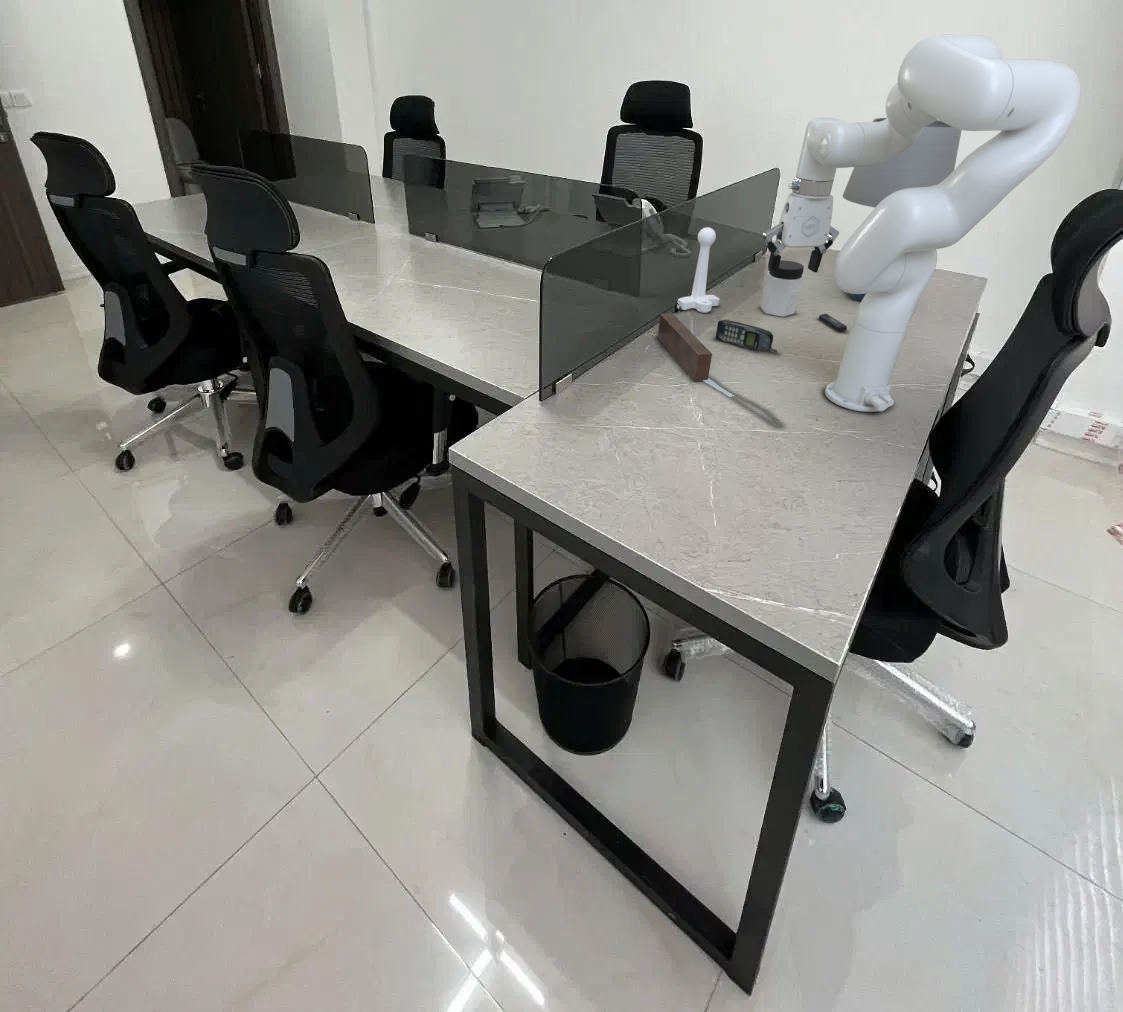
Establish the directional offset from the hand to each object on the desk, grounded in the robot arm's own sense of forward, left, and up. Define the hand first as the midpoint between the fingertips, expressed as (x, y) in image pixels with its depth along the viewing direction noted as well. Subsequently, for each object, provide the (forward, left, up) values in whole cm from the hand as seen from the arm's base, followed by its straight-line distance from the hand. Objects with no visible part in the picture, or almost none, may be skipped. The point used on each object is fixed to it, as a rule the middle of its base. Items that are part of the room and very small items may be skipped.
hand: (792, 271), depth 145 cm
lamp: (+27, -41, -17) cm, 52 cm away
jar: (+21, -11, -17) cm, 29 cm away
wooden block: (-4, +25, -17) cm, 31 cm away
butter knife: (-24, +22, -17) cm, 37 cm away
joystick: (+26, +9, -17) cm, 32 cm away
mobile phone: (0, +8, -17) cm, 19 cm away
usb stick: (+9, -20, -17) cm, 28 cm away
